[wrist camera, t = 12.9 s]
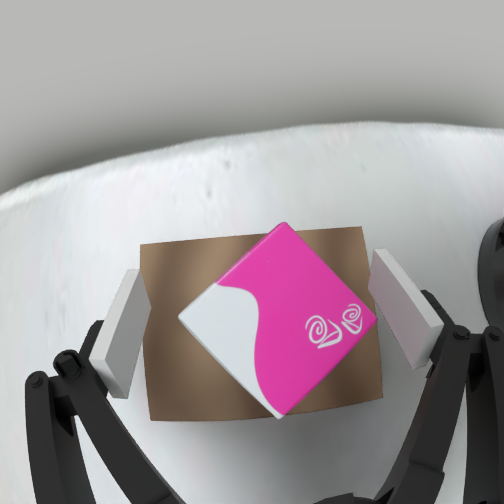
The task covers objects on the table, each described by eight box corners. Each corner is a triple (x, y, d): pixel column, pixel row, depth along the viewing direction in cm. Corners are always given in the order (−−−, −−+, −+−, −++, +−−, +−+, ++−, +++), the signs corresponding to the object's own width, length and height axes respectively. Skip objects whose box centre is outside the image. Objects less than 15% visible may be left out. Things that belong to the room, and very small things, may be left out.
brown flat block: (354, 234, 26) (361, 226, 24) (373, 393, 22) (382, 397, 21) (147, 251, 26) (140, 244, 24) (158, 414, 22) (150, 420, 20)
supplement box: (263, 382, 21) (275, 426, 10) (208, 323, 22) (166, 311, 11) (320, 327, 22) (383, 318, 11) (265, 271, 23) (279, 211, 12)
